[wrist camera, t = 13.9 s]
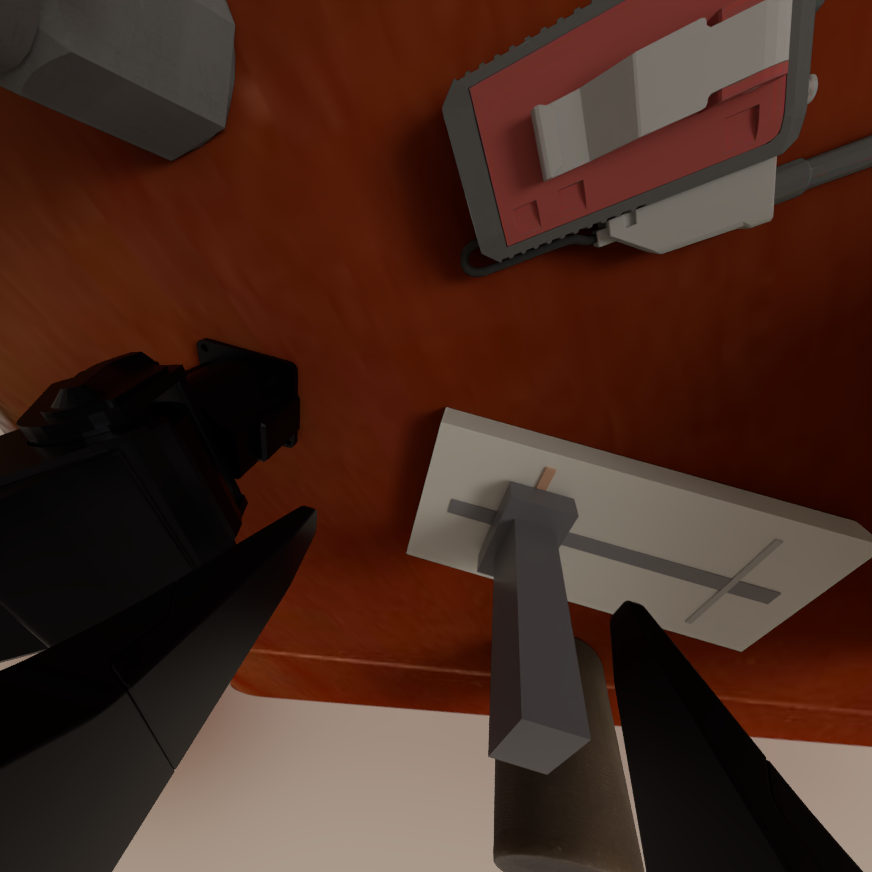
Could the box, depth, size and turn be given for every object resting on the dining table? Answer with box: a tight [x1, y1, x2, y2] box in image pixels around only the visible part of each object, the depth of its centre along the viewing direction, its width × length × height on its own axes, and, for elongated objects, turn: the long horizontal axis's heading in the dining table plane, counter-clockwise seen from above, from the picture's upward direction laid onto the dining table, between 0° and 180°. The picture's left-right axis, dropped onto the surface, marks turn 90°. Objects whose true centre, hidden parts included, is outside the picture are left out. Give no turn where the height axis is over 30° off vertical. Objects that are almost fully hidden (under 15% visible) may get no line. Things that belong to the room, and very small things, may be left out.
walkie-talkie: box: [442, 0, 872, 277], centre depth 12 cm, size 9×4×20 cm
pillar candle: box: [493, 638, 644, 872], centre depth 28 cm, size 10×10×15 cm
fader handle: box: [477, 481, 591, 775], centre depth 18 cm, size 4×7×12 cm, turn 167°
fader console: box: [406, 407, 872, 652], centre depth 24 cm, size 26×12×2 cm, turn 77°
